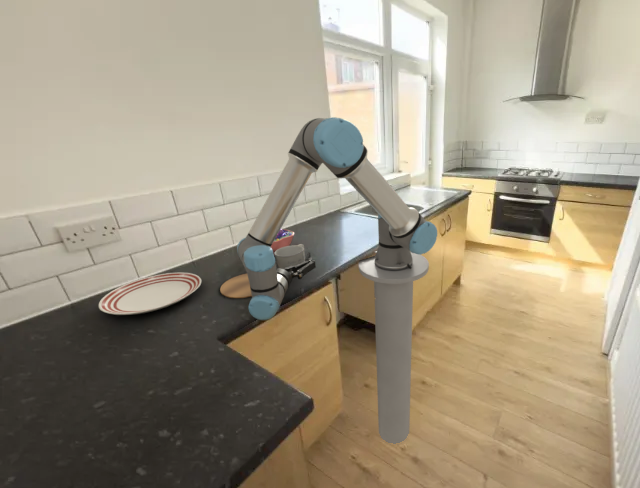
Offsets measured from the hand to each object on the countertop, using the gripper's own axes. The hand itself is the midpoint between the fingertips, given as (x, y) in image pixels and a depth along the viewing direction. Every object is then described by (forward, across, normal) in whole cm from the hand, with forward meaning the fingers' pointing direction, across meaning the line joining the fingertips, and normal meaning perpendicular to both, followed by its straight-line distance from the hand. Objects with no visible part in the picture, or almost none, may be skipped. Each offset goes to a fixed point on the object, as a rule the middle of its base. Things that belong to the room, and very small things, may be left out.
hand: (291, 256), depth 119 cm
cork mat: (-10, -13, -6) cm, 18 cm away
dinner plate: (-18, -41, -6) cm, 45 cm away
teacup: (+3, 0, -6) cm, 7 cm away
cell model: (+17, -12, -6) cm, 22 cm away
